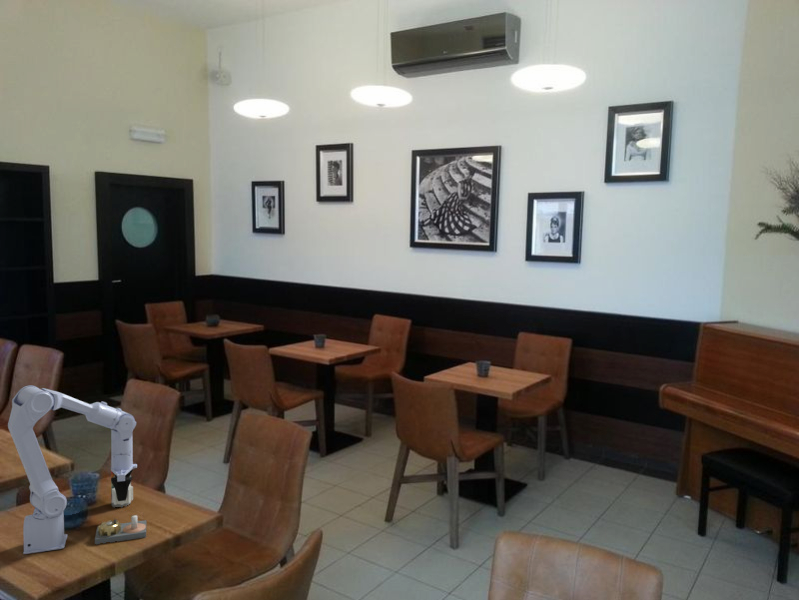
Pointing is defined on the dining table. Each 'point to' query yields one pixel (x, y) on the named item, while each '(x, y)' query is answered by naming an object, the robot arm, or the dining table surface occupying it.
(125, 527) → the board
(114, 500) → the loose gear
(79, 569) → the dining table surface
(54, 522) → the robot arm
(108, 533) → the gear
